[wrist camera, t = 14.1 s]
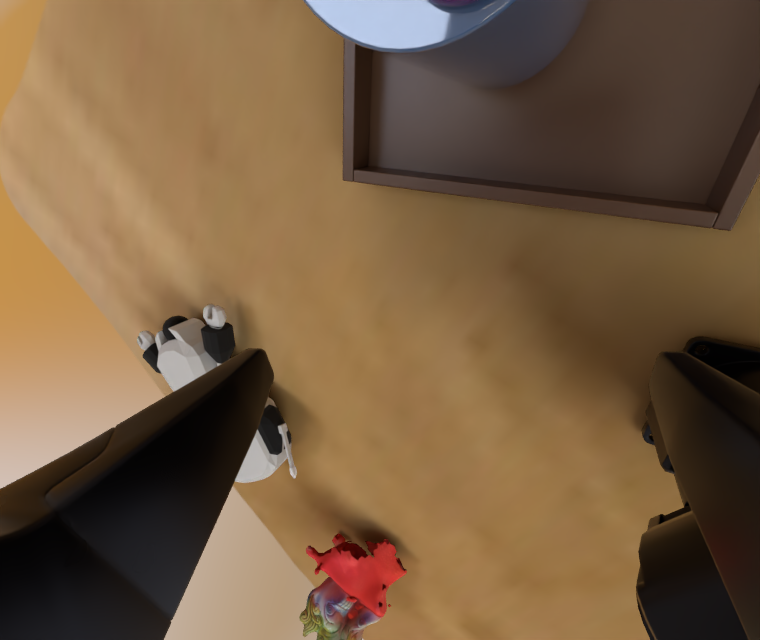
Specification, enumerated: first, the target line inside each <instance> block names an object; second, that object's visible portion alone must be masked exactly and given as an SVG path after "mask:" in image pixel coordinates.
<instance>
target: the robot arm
mask: <svg viewBox="0 0 760 640" xmlns="http://www.w3.org/2000/svg"><path fill="white" fill-rule="evenodd" d="M700 345H705V346H706V348H705V349H704V350H701V351H697V350H695V348H696V347H697V346H700ZM273 380H274V373H273V370H272V367H271V365H270V362H269V360H268V357H267V354H266V352H265V351H264V350H263V349H259V348H250V349H246V350H244V351H243V352H241V353H239V354H237V355H236V356H234V357H232V358H231V359H229V360H227V361H226V362H224V363H222V364H220V365H219V366H217V367H215V368H214V369H212V370H210V371H208V372H207V373H205V374H203V375H202V376H200V377H198V378H197V379H195V380H193V381H191V382H190V383H188V384H186V385H185V386H183V387H181V388H179V389H178V390H176V391H174V392H173V393H171V394H169V395H168V396H166V397H164V398H162V399H161V400H159V401H157V402H156V403H154V404H152V405H150V406H149V407H147V408H145V409H144V410H142V411H140V412H139V413H137V414H135V415H133V416H132V417H130V418H128V419H127V420H125V421H123V422H121V423H120V424H118V425H117V426H116V427H115V428H111V429H109V430H108V431H106V432H104V433H103V434H101V435H99V436H98V437H96V438H94V439H92V440H91V441H89V442H87V443H85V444H83V445H82V446H80V447H78V448H76V449H75V450H73V451H71V452H70V453H68V454H66V455H64V456H62V457H60V458H58V459H56V460H54V461H53V462H51V463H49V464H47V465H45V466H43V467H41V468H39V469H37V470H35V471H34V472H32V473H30V474H28V475H26V476H24V477H22V478H20V479H18V480H16V481H15V482H13V483H11V484H9V485H7V486H6V487H3V488H1V489H0V640H164V638H165V635H166V633H167V631H168V629H169V627H170V624H171V620H172V619H173V617H174V615H175V613H176V610H177V608H178V606H179V603H180V601H181V599H182V597H183V595H184V593H185V590H186V588H187V586H188V584H189V581H190V579H191V577H192V575H193V573H194V570H195V568H196V566H197V564H198V561H199V559H200V557H201V555H202V553H203V550H204V548H205V546H206V543H207V541H208V539H209V537H210V534H211V533H212V530H213V528H214V526H215V523H216V521H217V519H218V517H219V515H220V513H221V510H222V508H223V506H224V503H225V501H226V499H227V497H228V495H229V492H230V490H231V488H232V486H233V484H234V481H235V479H236V477H237V475H238V472H239V470H240V468H241V466H242V464H243V461H244V459H245V457H246V455H247V452H248V450H249V448H250V446H251V444H252V441H253V439H254V437H255V434H256V432H257V429H258V426H259V424H260V420H261V417H262V414H263V411H264V408H265V405H266V402H267V399H268V396H269V393H270V390H271V387H272V384H273ZM649 392H650V396H651V401H650V403H649V405H648V407H647V409H646V416H647V421H646V423H645V425H644V427H643V429H642V435H643V438H644V440H645V441H646V442H647V443H649V444H652V445H655V447H656V451H657V454H658V458H659V461H660V465H661V466H662V468H663V469H664V470H665V471H666V472H669V473H672V474H674V476H675V479H676V483H677V486H678V489H679V492H680V495H681V498H682V502H683V505H684V508H682V509H679V510H677V511H675V512H672V513H670V514H668V515H663V514H660V515H658V516H656V517H653V518H651V519H650V520H649V525H648V530H647V531H646V532H645V533H644V534H643V535H642V537H641V542H640V547H639V559H640V569H639V574H638V579H637V585H636V597H637V603H638V608H639V611H640V614H641V618H642V621H643V624H644V626H645V628H646V631H647V633H648V635H649V637H650V640H760V348H756V347H751V346H746V345H741V344H737V343H732V342H727V341H722V340H717V339H712V338H708V337H694V338H692V339H690V340H689V341H688V342H687V344H686V346H685V348H684V350H683V351H682V352H661V353H660V354H659V355H658V356H657V359H656V362H655V365H654V368H653V371H652V375H651V378H650V381H649ZM650 434H652V436H650Z"/></svg>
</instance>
